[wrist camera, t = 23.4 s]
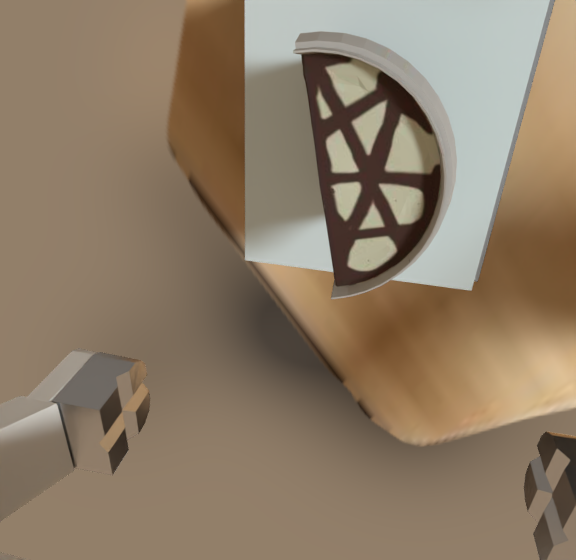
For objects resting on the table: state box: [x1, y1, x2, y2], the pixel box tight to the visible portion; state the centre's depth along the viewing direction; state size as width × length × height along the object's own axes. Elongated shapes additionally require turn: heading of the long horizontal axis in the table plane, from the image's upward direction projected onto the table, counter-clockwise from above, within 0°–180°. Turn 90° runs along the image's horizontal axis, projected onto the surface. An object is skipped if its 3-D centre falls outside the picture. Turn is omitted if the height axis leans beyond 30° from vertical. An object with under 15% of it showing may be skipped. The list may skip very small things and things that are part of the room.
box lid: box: [245, 0, 550, 291], centre depth 30 cm, size 16×18×1 cm
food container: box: [293, 31, 457, 299], centre depth 25 cm, size 12×6×10 cm, turn 10°
